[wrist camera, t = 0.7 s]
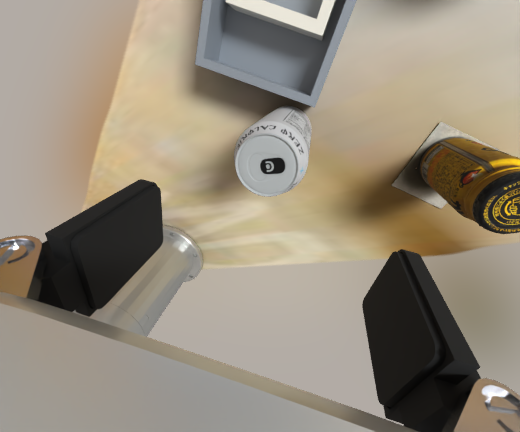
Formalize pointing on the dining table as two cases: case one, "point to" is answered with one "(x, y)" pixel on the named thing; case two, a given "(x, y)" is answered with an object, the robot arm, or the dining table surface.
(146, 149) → the dining table surface
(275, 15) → the walled box
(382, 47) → the dining table surface
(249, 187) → the energy drink can
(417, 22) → the dining table surface
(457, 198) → the condiment
